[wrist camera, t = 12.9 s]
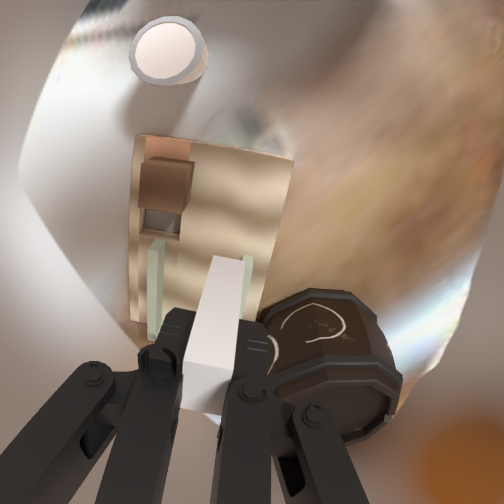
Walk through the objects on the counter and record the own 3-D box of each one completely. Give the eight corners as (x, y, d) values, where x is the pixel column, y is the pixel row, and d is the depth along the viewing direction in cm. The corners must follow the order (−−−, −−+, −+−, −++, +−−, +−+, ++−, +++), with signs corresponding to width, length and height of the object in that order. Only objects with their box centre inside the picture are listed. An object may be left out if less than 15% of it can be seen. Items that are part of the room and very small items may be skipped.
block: (154, 156, 30) (140, 163, 27) (195, 161, 31) (186, 169, 27) (150, 195, 32) (137, 207, 29) (189, 202, 33) (180, 214, 29)
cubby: (155, 238, 35) (147, 249, 32) (253, 256, 35) (252, 269, 33) (153, 325, 41) (147, 339, 38) (234, 341, 41) (233, 356, 39)
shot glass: (216, 85, 29) (205, 80, 23) (154, 93, 29) (129, 92, 23) (213, 28, 26) (202, 9, 20) (152, 37, 26) (127, 24, 20)
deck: (141, 134, 31) (135, 135, 29) (292, 158, 32) (294, 161, 30) (135, 311, 42) (130, 320, 40) (249, 334, 43) (248, 343, 42)
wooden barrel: (225, 337, 44) (212, 428, 30) (316, 255, 37) (344, 344, 23) (308, 387, 49) (318, 466, 35) (393, 325, 42) (430, 406, 28)
